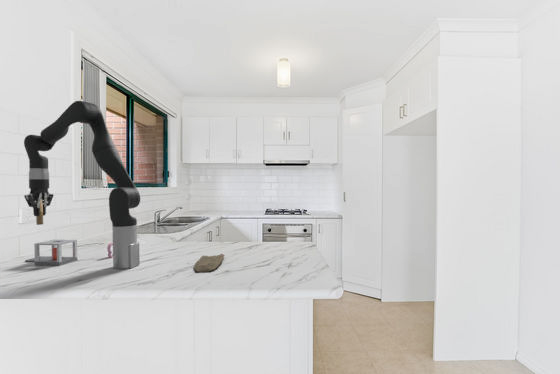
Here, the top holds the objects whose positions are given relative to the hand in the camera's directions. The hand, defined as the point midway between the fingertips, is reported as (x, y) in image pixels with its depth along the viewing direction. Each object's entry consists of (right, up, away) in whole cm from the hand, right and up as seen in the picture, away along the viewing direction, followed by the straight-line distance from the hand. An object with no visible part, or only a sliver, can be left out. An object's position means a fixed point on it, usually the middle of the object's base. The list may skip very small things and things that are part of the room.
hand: (39, 215), depth 149 cm
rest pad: (0, -21, 0) cm, 21 cm away
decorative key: (+32, -21, +11) cm, 40 cm away
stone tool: (+82, -20, -13) cm, 85 cm away
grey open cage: (+12, -21, -5) cm, 24 cm away
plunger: (+12, -20, -5) cm, 24 cm away
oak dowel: (0, -4, 0) cm, 4 cm away
